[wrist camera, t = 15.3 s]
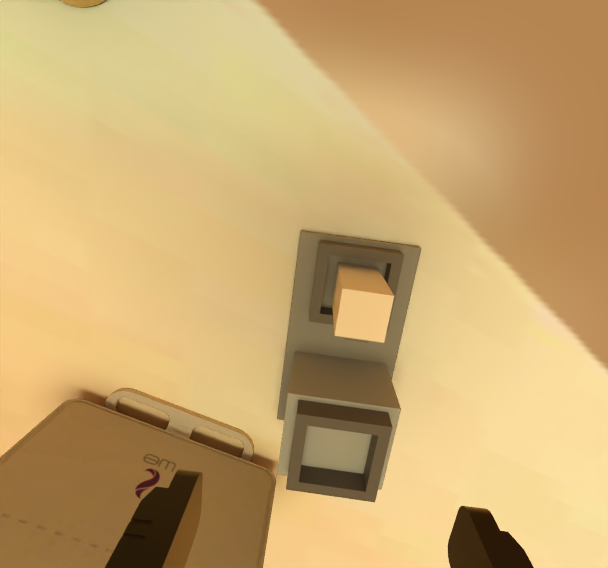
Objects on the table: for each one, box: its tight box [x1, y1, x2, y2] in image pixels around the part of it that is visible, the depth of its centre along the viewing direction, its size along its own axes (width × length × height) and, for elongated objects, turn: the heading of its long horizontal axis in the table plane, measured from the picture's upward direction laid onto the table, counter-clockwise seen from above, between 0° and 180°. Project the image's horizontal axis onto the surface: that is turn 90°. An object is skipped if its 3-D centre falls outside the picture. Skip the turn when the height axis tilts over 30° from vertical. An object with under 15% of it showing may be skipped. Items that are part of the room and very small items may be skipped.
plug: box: [332, 262, 394, 343], centre depth 33 cm, size 5×4×9 cm
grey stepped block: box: [277, 231, 421, 502], centre depth 34 cm, size 22×12×11 cm, turn 173°
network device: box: [0, 388, 276, 568], centre depth 35 cm, size 26×9×20 cm, turn 67°
